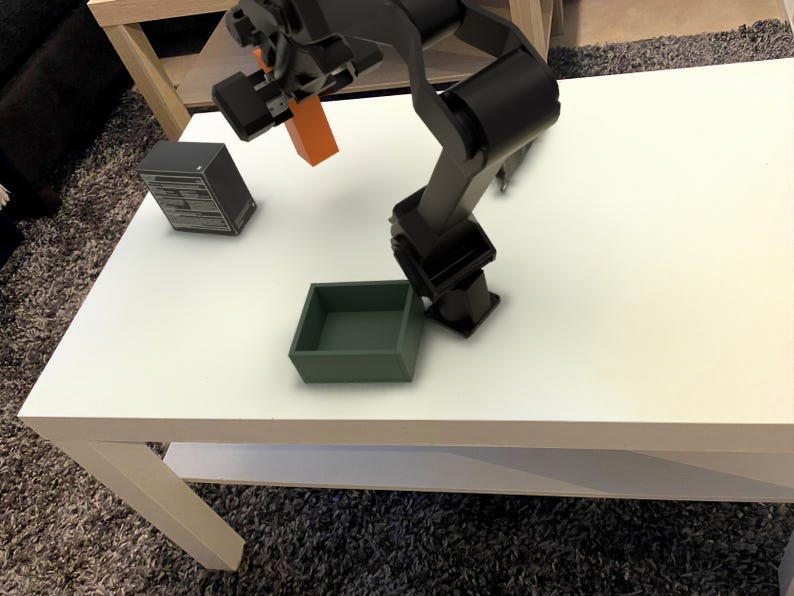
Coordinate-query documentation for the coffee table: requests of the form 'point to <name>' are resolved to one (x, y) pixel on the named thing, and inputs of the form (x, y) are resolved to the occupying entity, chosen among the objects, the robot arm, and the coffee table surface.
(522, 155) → the olive green elongated pouch
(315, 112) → the orange rectangular block
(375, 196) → the coffee table surface
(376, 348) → the bin
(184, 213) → the small box
